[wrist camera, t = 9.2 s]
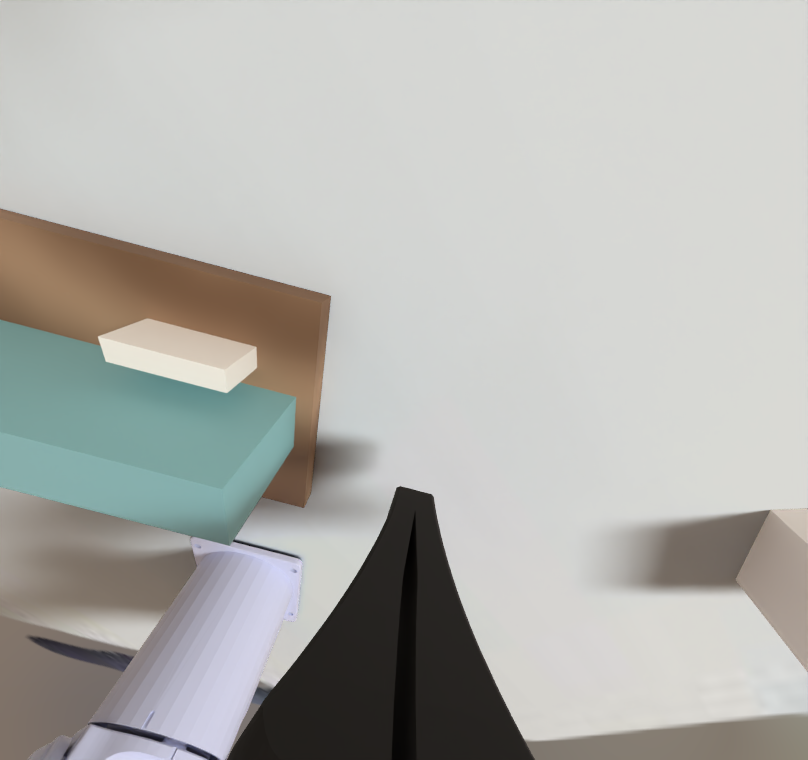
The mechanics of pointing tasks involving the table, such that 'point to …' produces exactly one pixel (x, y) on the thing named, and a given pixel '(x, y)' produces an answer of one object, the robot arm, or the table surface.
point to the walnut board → (171, 313)
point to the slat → (135, 437)
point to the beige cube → (781, 577)
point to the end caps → (180, 354)
